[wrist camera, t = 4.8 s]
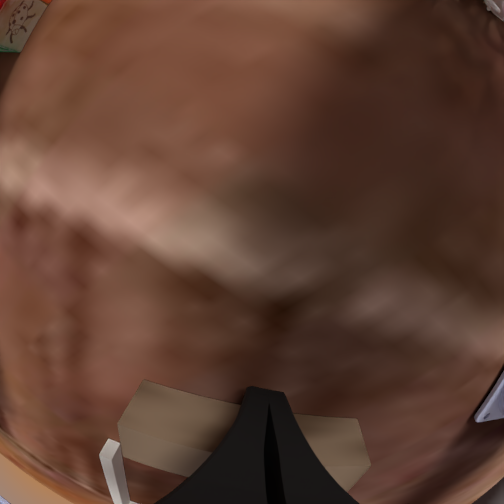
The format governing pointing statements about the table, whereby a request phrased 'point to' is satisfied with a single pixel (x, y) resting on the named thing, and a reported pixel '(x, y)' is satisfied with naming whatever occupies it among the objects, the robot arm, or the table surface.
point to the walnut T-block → (223, 433)
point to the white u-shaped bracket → (115, 472)
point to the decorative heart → (496, 7)
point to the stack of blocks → (18, 22)
